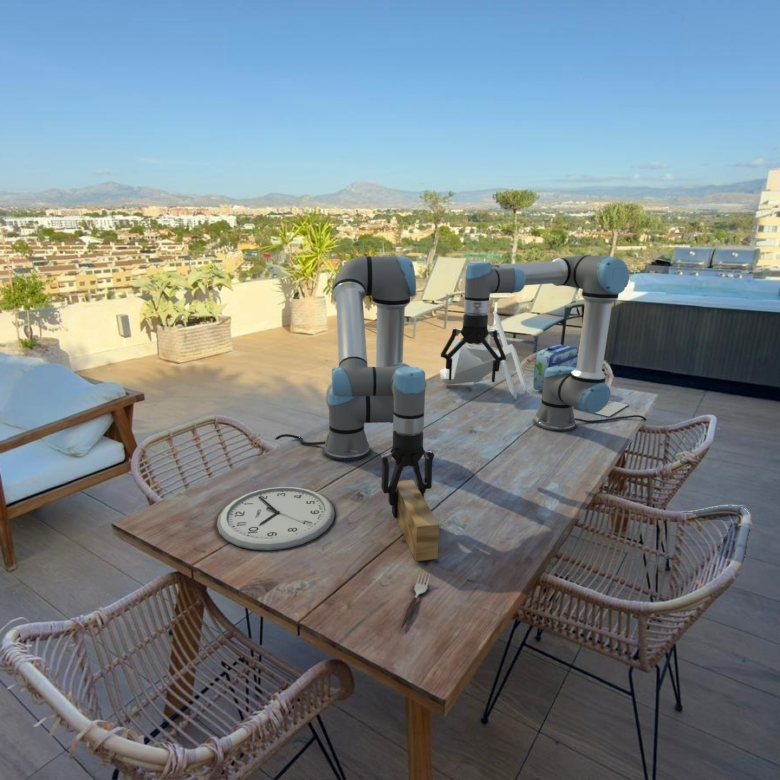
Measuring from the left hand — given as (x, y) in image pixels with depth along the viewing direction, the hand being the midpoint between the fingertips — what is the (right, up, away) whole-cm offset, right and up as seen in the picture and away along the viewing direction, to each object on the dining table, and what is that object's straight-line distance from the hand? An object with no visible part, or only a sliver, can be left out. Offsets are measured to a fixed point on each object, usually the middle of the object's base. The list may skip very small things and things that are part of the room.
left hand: (405, 513), depth 135 cm
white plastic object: (+38, +31, +108) cm, 119 cm away
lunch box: (+74, +32, +115) cm, 141 cm away
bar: (+2, -3, -7) cm, 7 cm away
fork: (+1, -11, -29) cm, 31 cm away
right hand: (+22, +35, +32) cm, 52 cm away
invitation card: (+87, +25, +91) cm, 129 cm away
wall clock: (-34, -1, +2) cm, 34 cm away
